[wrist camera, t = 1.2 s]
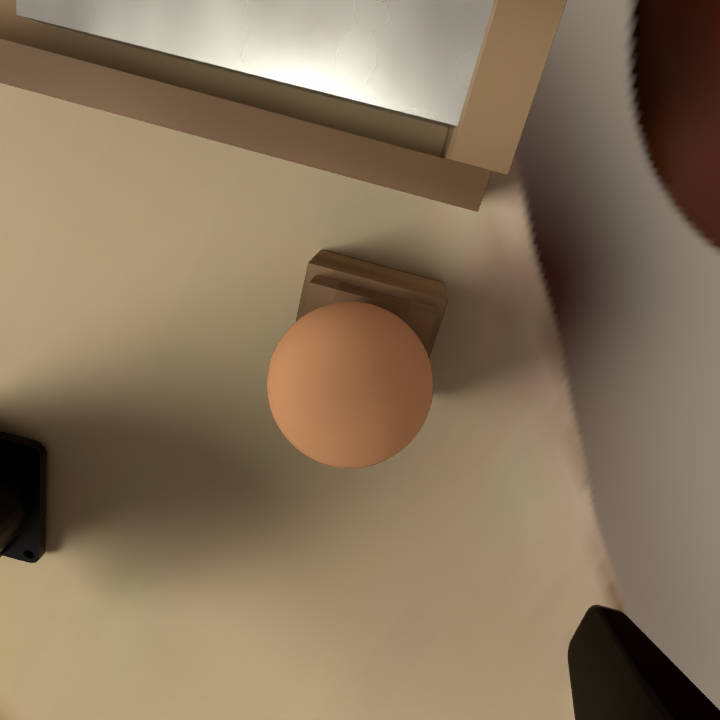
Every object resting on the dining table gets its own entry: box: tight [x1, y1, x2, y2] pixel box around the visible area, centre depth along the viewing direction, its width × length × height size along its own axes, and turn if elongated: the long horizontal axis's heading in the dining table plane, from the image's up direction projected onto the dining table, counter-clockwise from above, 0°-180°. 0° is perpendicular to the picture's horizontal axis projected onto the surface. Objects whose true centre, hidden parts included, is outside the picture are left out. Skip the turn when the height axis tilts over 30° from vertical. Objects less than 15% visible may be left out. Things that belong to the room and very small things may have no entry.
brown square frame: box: [296, 250, 448, 358], centre depth 17 cm, size 4×4×3 cm
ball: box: [267, 302, 433, 468], centre depth 14 cm, size 4×4×4 cm
